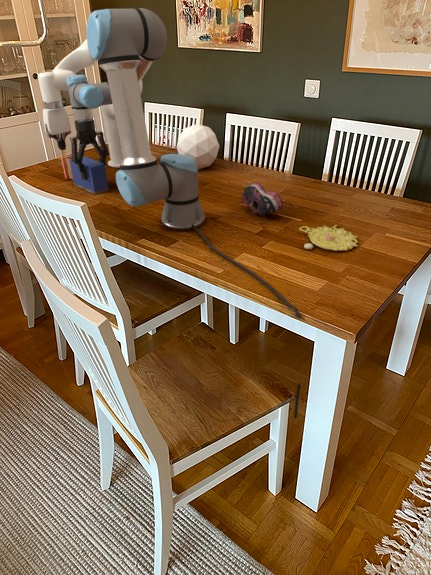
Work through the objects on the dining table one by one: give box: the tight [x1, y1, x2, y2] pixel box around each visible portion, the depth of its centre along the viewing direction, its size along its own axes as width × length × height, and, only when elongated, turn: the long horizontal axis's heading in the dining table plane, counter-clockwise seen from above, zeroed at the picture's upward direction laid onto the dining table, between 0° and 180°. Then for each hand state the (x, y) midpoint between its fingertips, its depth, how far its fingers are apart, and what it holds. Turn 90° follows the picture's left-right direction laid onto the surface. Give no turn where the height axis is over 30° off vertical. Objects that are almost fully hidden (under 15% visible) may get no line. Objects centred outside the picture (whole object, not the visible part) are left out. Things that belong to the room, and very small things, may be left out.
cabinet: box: [69, 155, 110, 195], centre depth 186 cm, size 17×7×11 cm, turn 44°
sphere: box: [175, 123, 221, 170], centre depth 203 cm, size 19×20×20 cm
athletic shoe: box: [238, 182, 284, 217], centre depth 160 cm, size 11×22×12 cm
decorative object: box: [299, 224, 359, 252], centre depth 141 cm, size 21×2×20 cm
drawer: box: [56, 154, 73, 180], centre depth 194 cm, size 22×5×9 cm, turn 44°
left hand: (62, 149), depth 194 cm, fingers closed
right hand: (94, 176), depth 183 cm, fingers open, 8 cm apart
